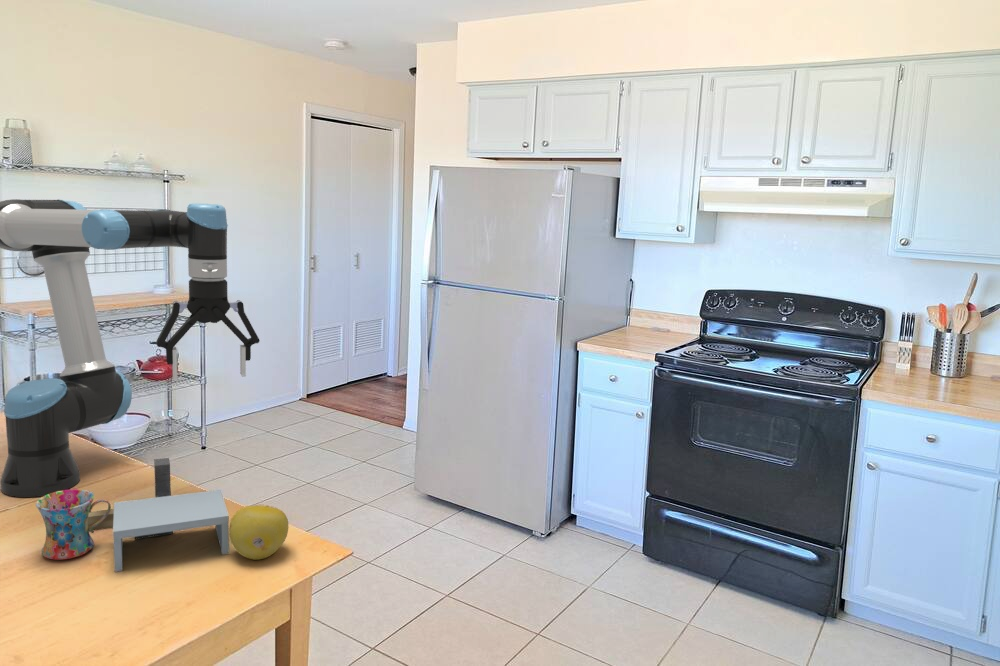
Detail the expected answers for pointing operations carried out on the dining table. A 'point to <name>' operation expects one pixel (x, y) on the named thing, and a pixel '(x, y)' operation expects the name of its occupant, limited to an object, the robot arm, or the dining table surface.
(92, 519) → the l-shaped tan bracket
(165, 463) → the grey piece
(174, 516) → the grey u-shaped bridge
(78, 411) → the robot arm
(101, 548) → the dining table surface
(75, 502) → the mug
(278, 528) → the fruit
